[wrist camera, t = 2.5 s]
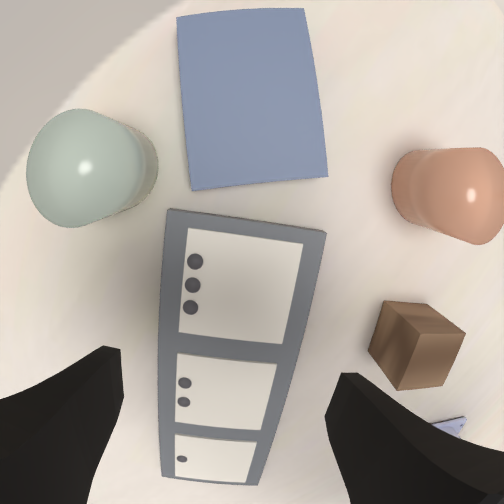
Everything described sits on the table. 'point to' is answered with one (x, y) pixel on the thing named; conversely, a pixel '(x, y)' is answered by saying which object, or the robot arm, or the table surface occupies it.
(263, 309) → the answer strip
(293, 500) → the table surface
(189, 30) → the slate blue flat block
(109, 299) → the table surface
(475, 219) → the peach dome-topped cylinder
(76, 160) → the sage dome-ended cylinder
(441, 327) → the block
